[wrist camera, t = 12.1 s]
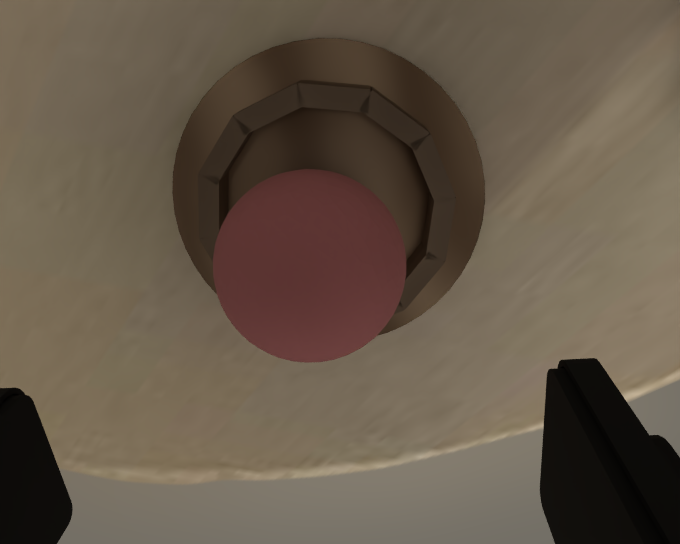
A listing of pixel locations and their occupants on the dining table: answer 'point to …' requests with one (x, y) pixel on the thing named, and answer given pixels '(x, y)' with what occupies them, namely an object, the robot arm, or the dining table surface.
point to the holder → (338, 152)
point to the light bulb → (309, 265)
